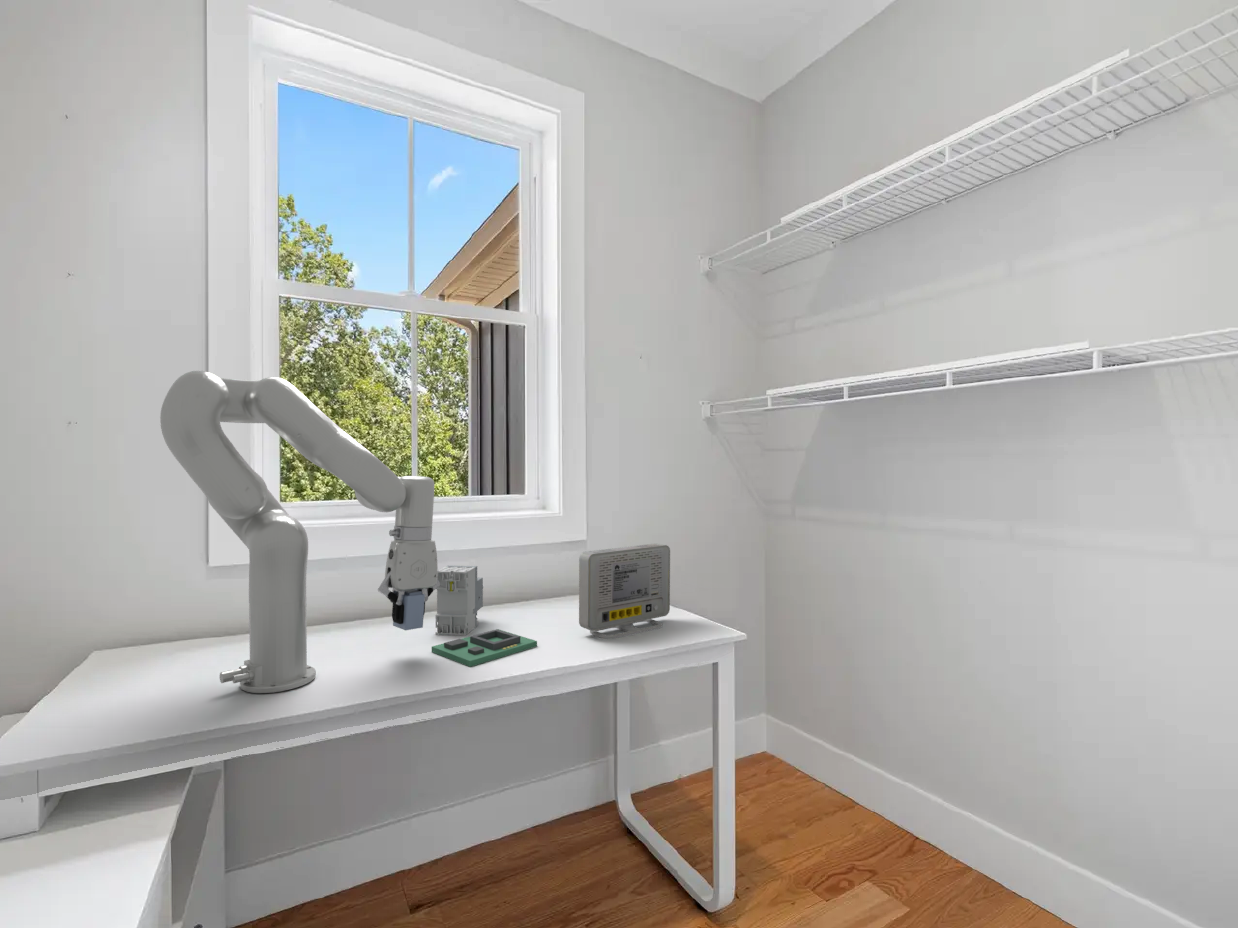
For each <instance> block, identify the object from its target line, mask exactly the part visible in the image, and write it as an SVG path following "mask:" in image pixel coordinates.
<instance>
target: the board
mask: <svg viewBox="0 0 1238 928" xmlns="http://www.w3.org/2000/svg"><path fill="white" fill-rule="evenodd" d="M536 647H538V640H535V639H532V638H528V637H526V636H522V635H520V634H519V635H518V634H515V633H512V632H509V631H506V630H502V629H497V628H496V629H491V630H489V631H485V632H481V633H477V634H473V635H469V636H466V637H463V638H457V639H453V640H449V641H445V642H443V643H440V644H436V645H432V646H431V653H434V654H436V655H437V656H438V655H439V656H441V657H444V658H446V659H449V660H451V661H454V662H456V663H458V664H462V665H465V666H467V667H470V668H471V667H473V666H474V667H475V666H477V665H481V664H484V663H488V662H490V661H495V660H497V659H500V658H503V657H507V656H510V655H513V654H517V653H520V652H523V651H527V650H530V649H533V648H536Z"/></svg>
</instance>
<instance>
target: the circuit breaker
mask: <svg viewBox="0 0 1238 928" xmlns="http://www.w3.org/2000/svg"><path fill="white" fill-rule="evenodd" d="M437 578H438V580H439V582H440V586H439V587H438V588H436V589H435V590H436V614H435V628H436V632H435V635H445V636H446V635H448V636H451V635H452V636H467V634H468V635H469V634H470V633H471V632H472V631H473V630H474V629H476V628H477V626H478V618H477V616H478V611H479V610H480V609H482V608H483V606H484V605H483V604H484V601H483V600H484V581H483V580H484V578H483V577H478V566H477V565H446V566H443V567H442V568H440V569H438V573H437Z"/></svg>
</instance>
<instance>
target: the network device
mask: <svg viewBox="0 0 1238 928" xmlns="http://www.w3.org/2000/svg"><path fill="white" fill-rule="evenodd" d="M578 558H579V559H578V563H579V564H578V568H579V569H578V571H579V572H578V576H579V577H578V624H579V626H580V627H581V628H583V629H585V630H589V633H590V635H593V636H595V637H598V638H600V639H607V640H612V639H619V638H622V637H627V636H631V635H632V636H633V635H635V634H641V633H647V632H650V631H654V630H658V629H661V628H663V622H661V621H658V620H655V619H657V618H662V617H663V618H664V617H666V616H667V615H669V613H670V609H671V603H670V602H671V585H670V584H671V548H670V547H669V545H667V544H661V543H649V544H639V545H629V546H621V547H614V548H612V547H611V548H604V549H595V550H587V551H583V552H581V554H580V555H579V557H578ZM640 622H646V623H648V624H651V626H647V627H636V626H634V623H640ZM610 628H613V629H614V628H616V629H618V630H621V631H623V632H620V633H619V632H618V633H615V634H610V635H609V634H605V633H602V632H600V631H601V630H606V629H610Z"/></svg>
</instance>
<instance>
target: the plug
mask: <svg viewBox="0 0 1238 928" xmlns="http://www.w3.org/2000/svg"><path fill="white" fill-rule="evenodd" d="M424 598H425V594H422V592H421V591H418V590H407V591H405V592H404V597H403V601H402V604H403V605H404V619H403V624H398V623H395V622H393V621H392V626H394V627H396V628H399V629H400V630H402V631H403V630H404V631H411V630H416V629H422V628H423V627H424V619H423V615H424V616H425V614H424Z"/></svg>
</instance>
